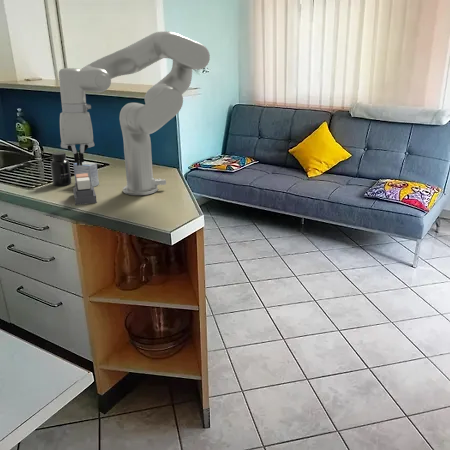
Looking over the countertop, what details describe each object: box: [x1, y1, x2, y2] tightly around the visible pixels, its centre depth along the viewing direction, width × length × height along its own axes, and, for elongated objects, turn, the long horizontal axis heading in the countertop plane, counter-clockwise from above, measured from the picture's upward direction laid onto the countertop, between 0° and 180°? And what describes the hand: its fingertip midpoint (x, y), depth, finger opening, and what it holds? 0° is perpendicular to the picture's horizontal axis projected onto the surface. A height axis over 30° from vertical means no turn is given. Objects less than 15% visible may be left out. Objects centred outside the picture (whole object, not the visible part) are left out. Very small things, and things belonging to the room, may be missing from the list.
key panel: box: [72, 182, 98, 206], centre depth 165 cm, size 7×12×4 cm, turn 19°
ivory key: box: [77, 177, 90, 190], centre depth 161 cm, size 4×4×3 cm
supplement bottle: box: [50, 151, 72, 187], centre depth 181 cm, size 7×7×12 cm
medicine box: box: [73, 161, 100, 188], centre depth 180 cm, size 8×4×9 cm, turn 66°
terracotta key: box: [76, 173, 88, 180], centre depth 166 cm, size 4×4×3 cm
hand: (79, 164), depth 158 cm, fingers closed
